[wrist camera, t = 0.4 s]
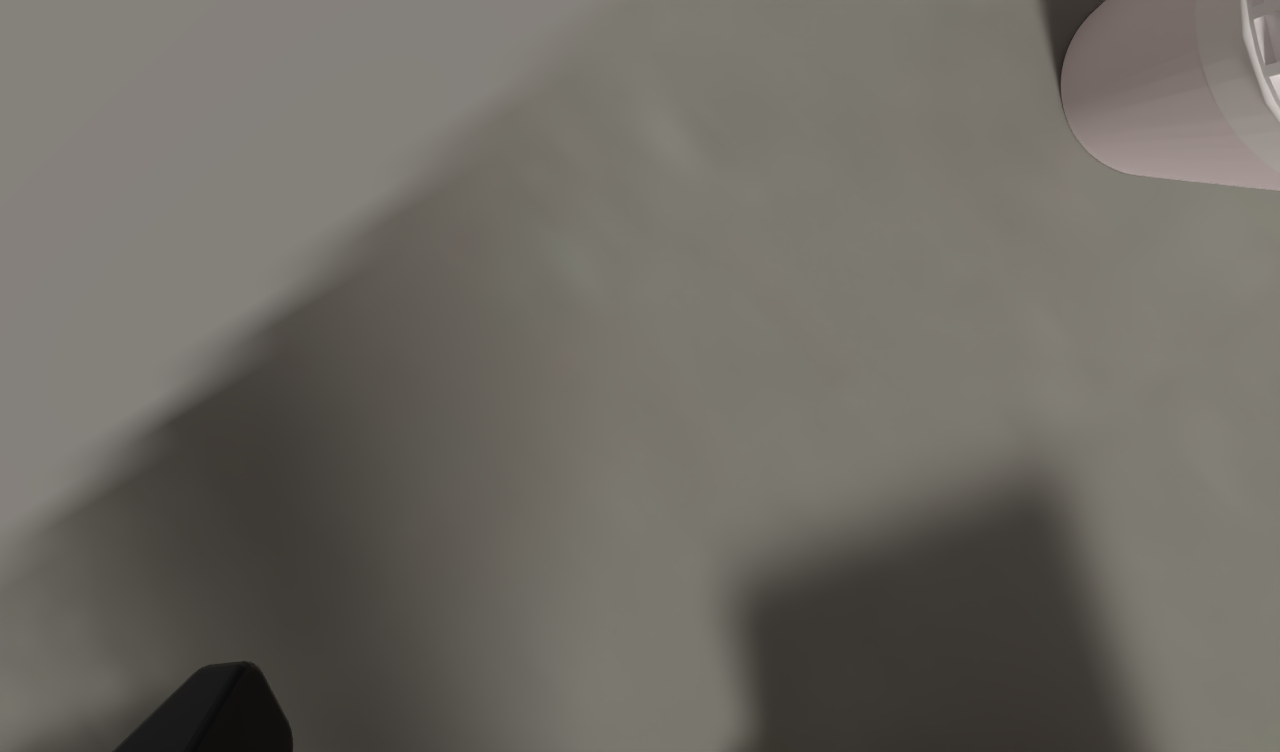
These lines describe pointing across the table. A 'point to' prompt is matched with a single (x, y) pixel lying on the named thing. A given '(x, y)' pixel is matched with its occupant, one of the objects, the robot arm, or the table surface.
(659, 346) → the table surface
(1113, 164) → the smoothie
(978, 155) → the table surface
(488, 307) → the table surface
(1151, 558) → the table surface
